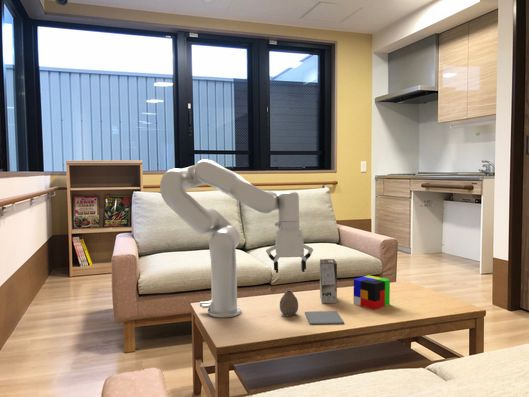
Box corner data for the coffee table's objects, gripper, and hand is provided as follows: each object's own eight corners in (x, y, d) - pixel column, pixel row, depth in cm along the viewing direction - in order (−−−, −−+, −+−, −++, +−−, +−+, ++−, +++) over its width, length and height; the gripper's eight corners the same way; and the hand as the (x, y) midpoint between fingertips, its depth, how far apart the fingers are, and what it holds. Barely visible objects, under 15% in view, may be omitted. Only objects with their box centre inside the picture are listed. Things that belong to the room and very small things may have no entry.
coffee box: (337, 303, 169) (337, 263, 168) (321, 303, 169) (321, 263, 168) (334, 296, 178) (334, 258, 177) (319, 296, 178) (319, 258, 177)
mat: (309, 324, 145) (309, 323, 145) (304, 313, 157) (304, 311, 157) (344, 323, 146) (344, 322, 146) (336, 312, 158) (336, 310, 158)
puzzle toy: (353, 304, 168) (353, 279, 167) (368, 299, 174) (368, 275, 174) (375, 310, 160) (375, 284, 160) (389, 304, 167) (389, 279, 166)
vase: (297, 318, 152) (297, 294, 151) (278, 317, 153) (278, 293, 153) (299, 312, 159) (299, 289, 158) (281, 311, 160) (281, 288, 159)
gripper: (265, 227, 150) (267, 275, 151) (314, 226, 150) (315, 273, 151) (264, 225, 157) (266, 270, 158) (310, 223, 158) (311, 268, 159)
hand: (290, 271), depth 155 cm, fingers open, 9 cm apart
